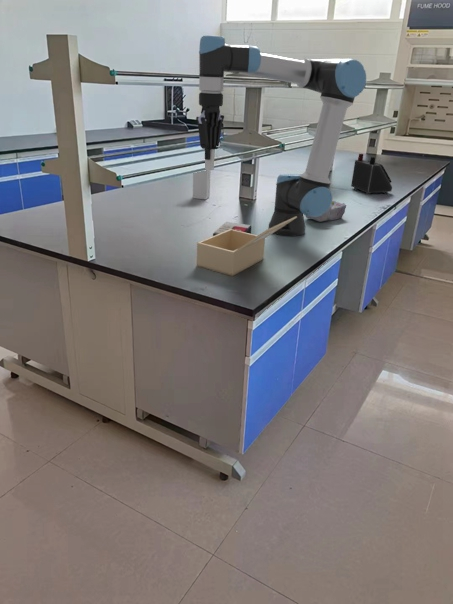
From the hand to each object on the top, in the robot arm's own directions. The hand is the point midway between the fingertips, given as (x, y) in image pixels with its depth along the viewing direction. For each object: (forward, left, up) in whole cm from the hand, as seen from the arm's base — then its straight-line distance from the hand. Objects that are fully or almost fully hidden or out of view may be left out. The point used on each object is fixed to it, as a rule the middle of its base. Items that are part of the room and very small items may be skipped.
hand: (209, 169), depth 162 cm
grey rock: (-71, -17, -29) cm, 79 cm away
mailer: (-2, +13, -29) cm, 32 cm away
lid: (-7, +25, -16) cm, 30 cm away
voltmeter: (-138, -50, -29) cm, 149 cm away
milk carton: (-38, -71, -29) cm, 85 cm away
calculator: (-17, -10, -29) cm, 35 cm away
